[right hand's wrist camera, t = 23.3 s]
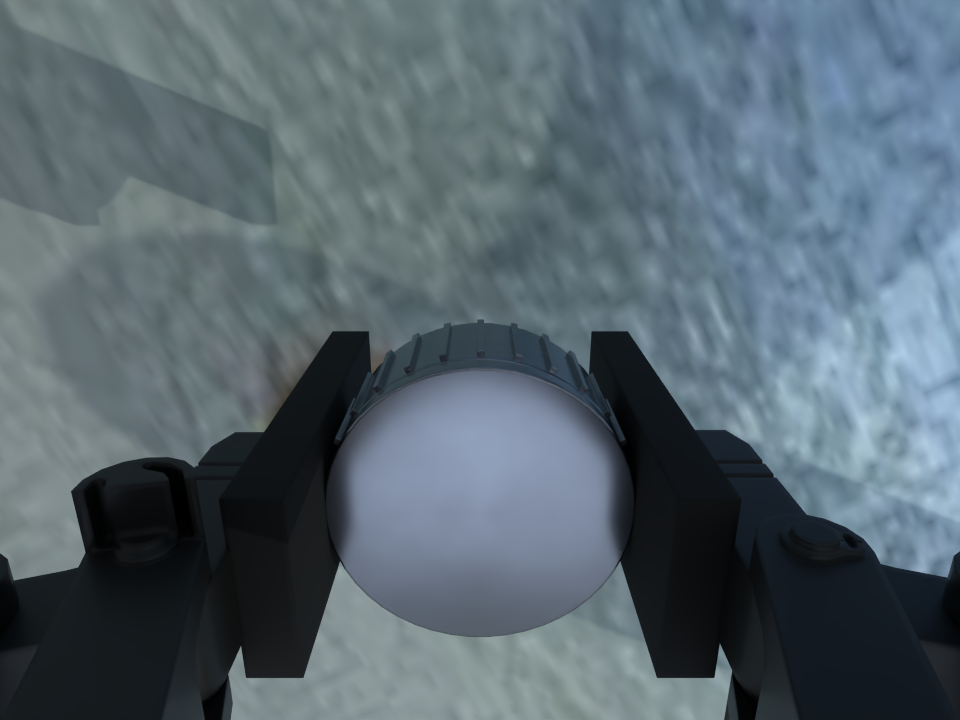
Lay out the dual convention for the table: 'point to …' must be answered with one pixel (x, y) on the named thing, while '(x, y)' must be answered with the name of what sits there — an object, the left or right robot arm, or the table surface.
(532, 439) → the lid
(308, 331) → the table surface
